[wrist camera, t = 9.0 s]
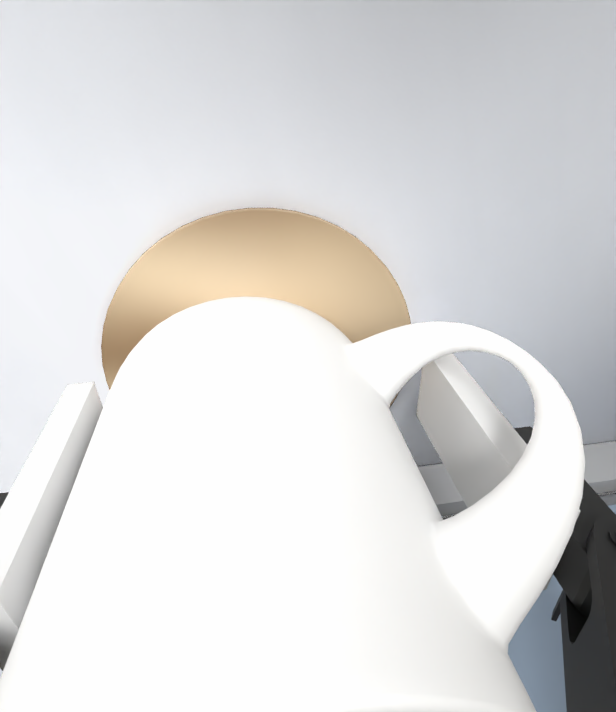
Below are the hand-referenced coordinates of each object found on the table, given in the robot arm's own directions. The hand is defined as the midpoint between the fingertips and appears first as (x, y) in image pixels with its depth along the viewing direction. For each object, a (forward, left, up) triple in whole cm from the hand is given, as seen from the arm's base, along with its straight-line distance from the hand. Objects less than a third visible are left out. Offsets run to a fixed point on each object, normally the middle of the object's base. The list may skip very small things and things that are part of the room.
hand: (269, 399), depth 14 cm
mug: (0, +1, -1) cm, 1 cm away
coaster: (0, 0, -2) cm, 2 cm away
